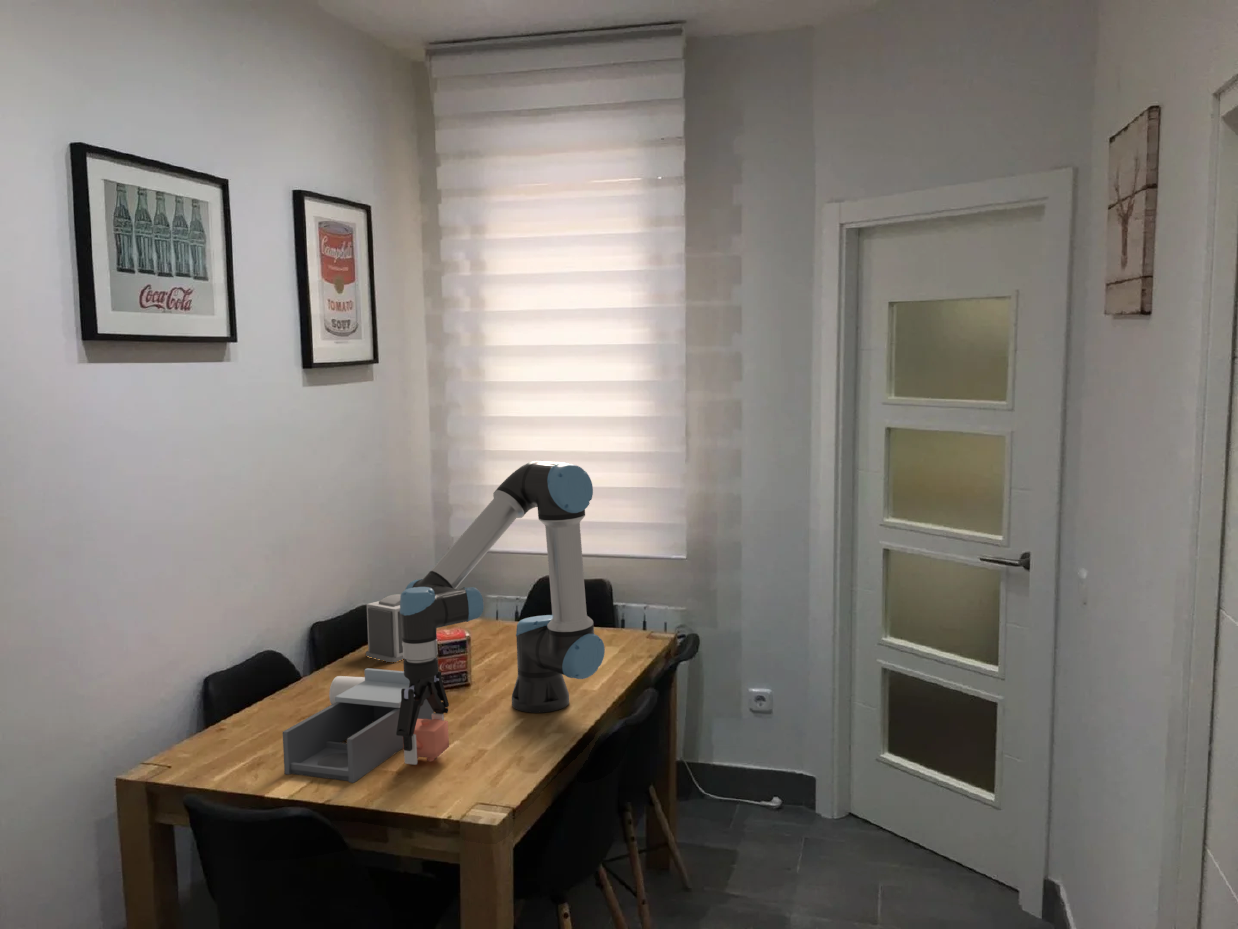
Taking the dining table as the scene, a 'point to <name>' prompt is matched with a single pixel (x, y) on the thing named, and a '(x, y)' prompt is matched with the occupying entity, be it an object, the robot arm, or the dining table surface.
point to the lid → (377, 689)
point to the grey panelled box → (385, 629)
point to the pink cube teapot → (431, 738)
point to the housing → (321, 735)
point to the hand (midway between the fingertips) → (425, 752)
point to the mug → (343, 685)
